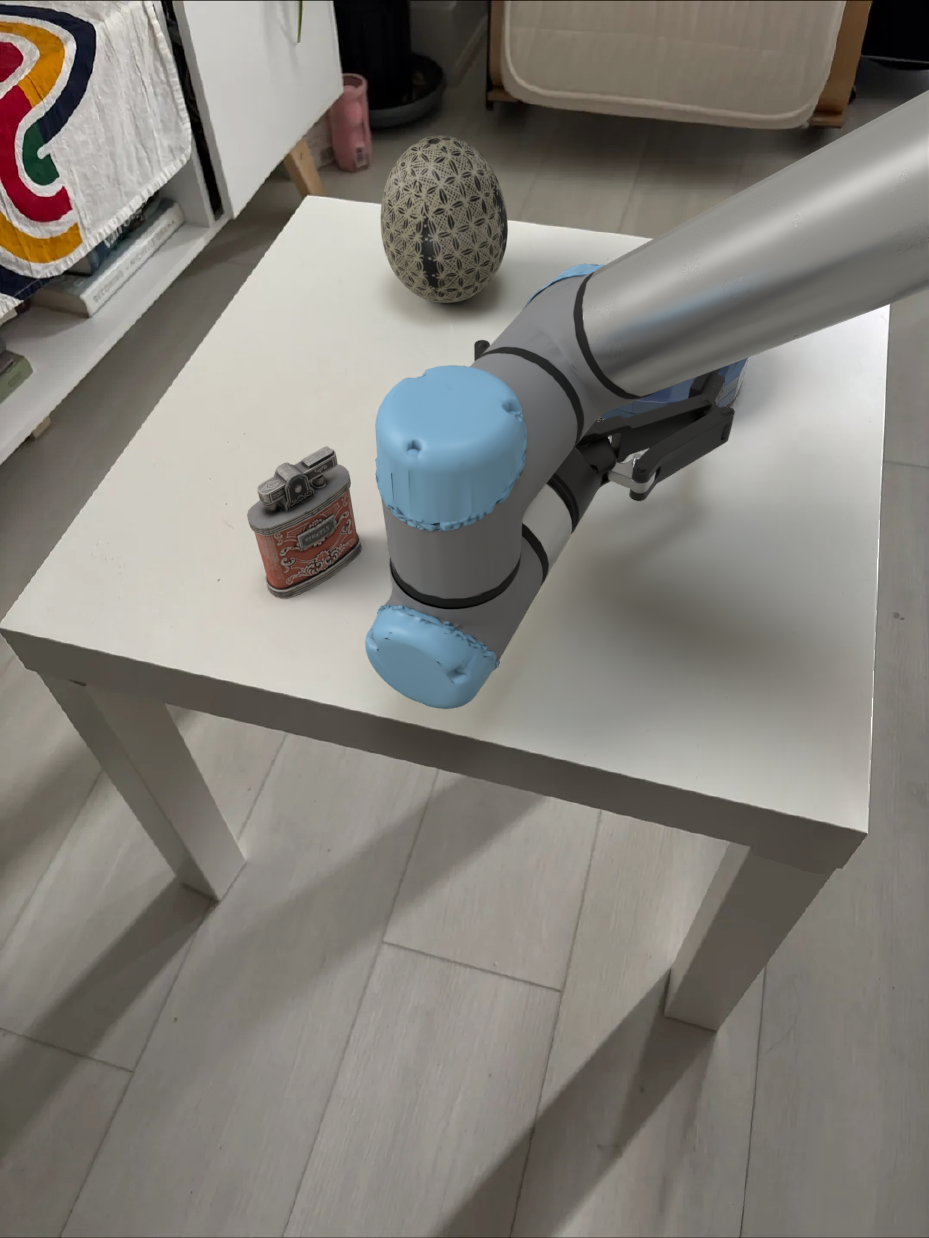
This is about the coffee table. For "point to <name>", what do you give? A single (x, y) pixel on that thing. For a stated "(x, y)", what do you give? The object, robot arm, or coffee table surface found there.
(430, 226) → the decorative egg
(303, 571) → the lighter
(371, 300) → the coffee table surface
